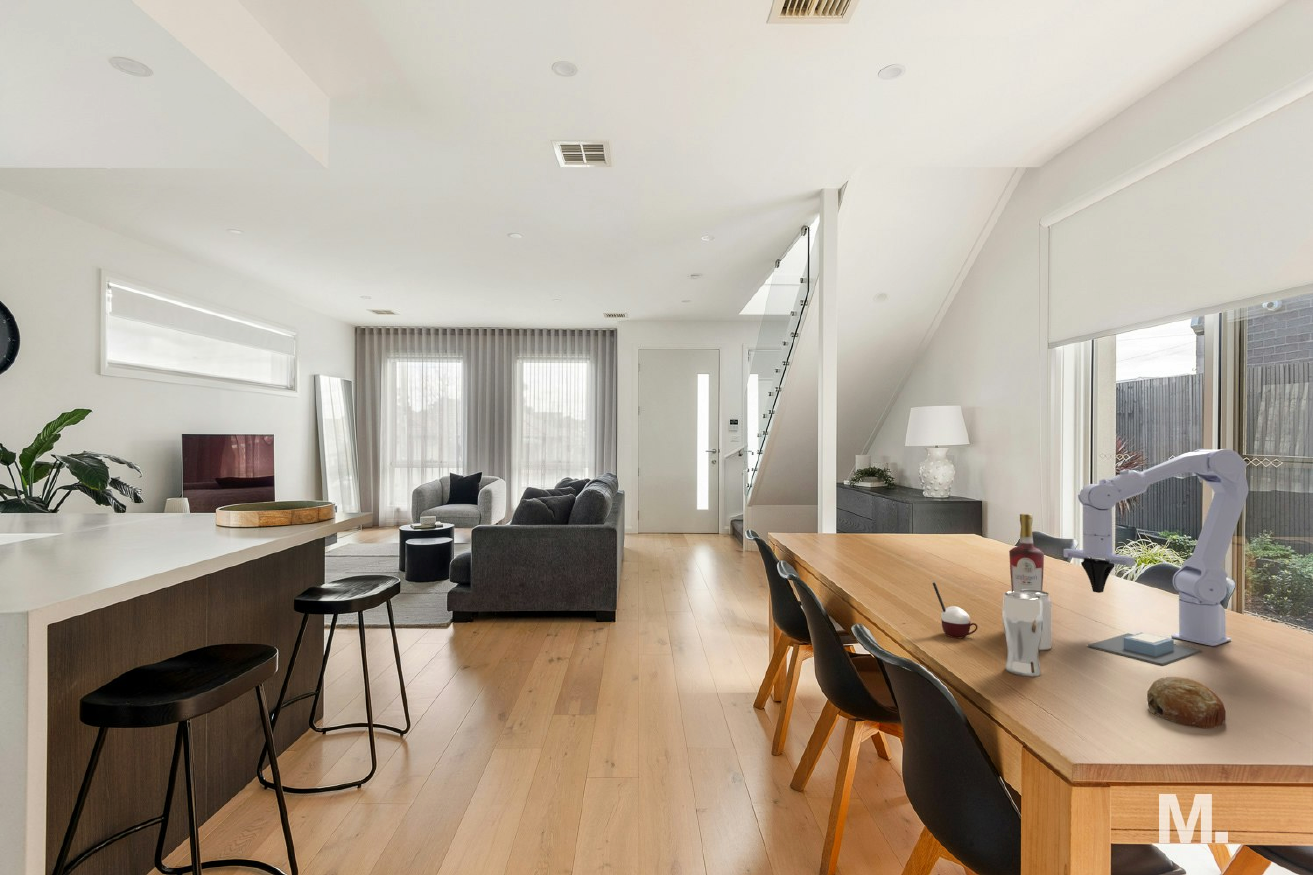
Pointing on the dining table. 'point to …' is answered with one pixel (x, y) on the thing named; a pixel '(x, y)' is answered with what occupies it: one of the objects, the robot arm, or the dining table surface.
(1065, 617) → the dining table surface
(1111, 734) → the dining table surface
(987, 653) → the dining table surface
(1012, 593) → the beer glass
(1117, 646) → the mat
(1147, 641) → the block
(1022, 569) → the liquor
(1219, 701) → the bread roll
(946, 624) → the cocoa
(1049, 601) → the can
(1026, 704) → the dining table surface
